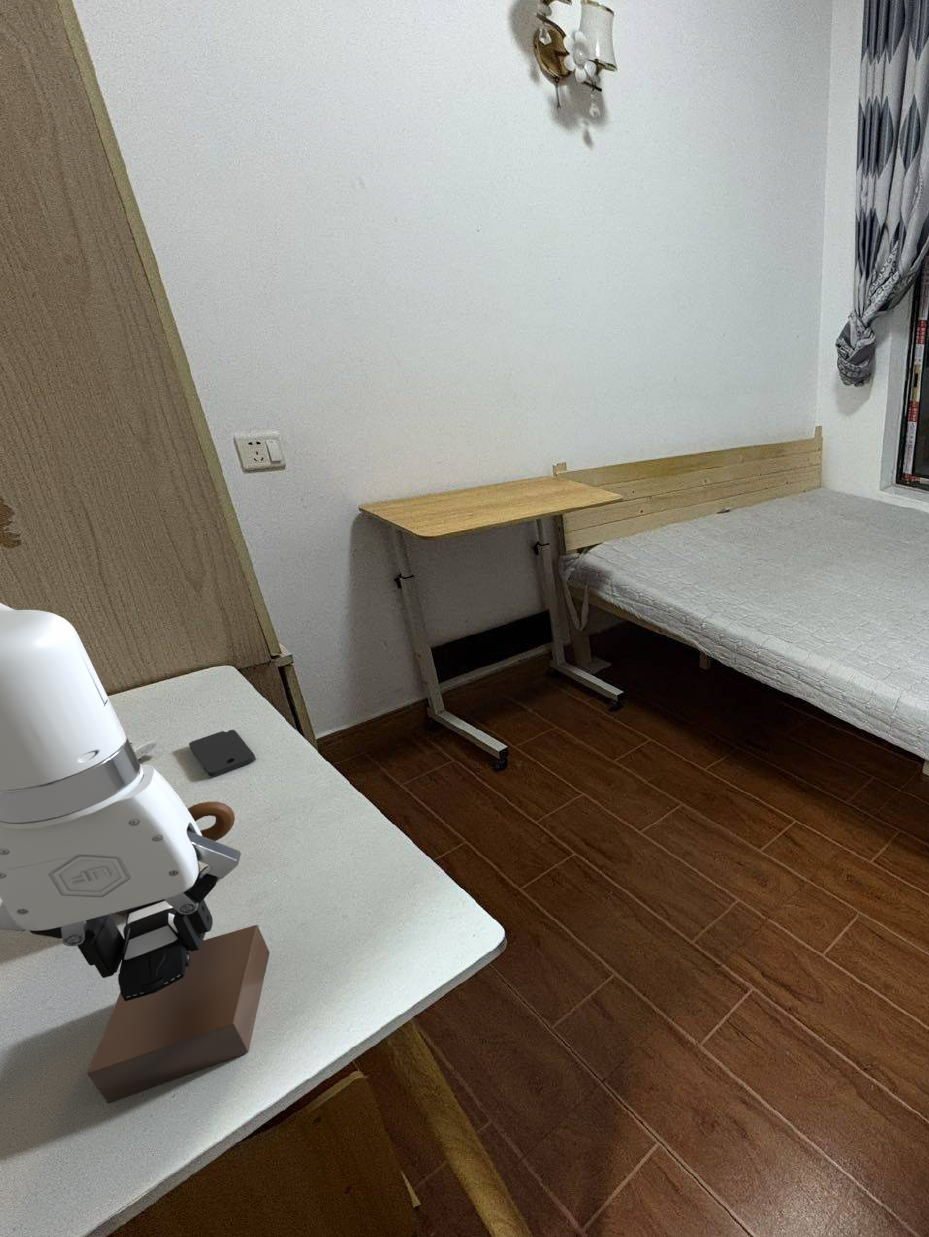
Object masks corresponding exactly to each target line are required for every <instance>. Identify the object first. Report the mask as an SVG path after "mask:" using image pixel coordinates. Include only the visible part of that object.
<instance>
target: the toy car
mask: <svg viewBox="0 0 929 1237" xmlns="http://www.w3.org/2000/svg"><path fill="white" fill-rule="evenodd" d="M175 913H176V910H175V909H174V908H173V907H172V906H170V905H169V904H168V903H167V902H166V901H165V900H164V899H163V900H160V901H156V902H152V903H149V904H145V905H141V906H138V907H134V908H130V909H128V911H126V915H125V925H124V927H123V938H124V946H123V954H121V955H118V956H117V958H122V961H121V963H120V965H119V973H118V975H117V982H118V986H119V991H120V992H121V995H122V997H123V999H124V1001H129V1000H133V999H136V998H139V997H143V996H146V995H149V994H153V993H156V992H158V991H159V990H161V989H163V988H165V987H167V986H169V985H171V984H173V983H175V982H176V981H178V980H180V979H182V978H183V977H184V974H185V967H187V966H190V965H191V960H190V955H189V953H188V950H187V948H186V946H185V945H184V943H183V941H182V939H181V937H180V935H179V933H178V931H177V929H176V927H175V925H174V923H173V918H174V916H175ZM120 992H119V993H120Z"/></svg>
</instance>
